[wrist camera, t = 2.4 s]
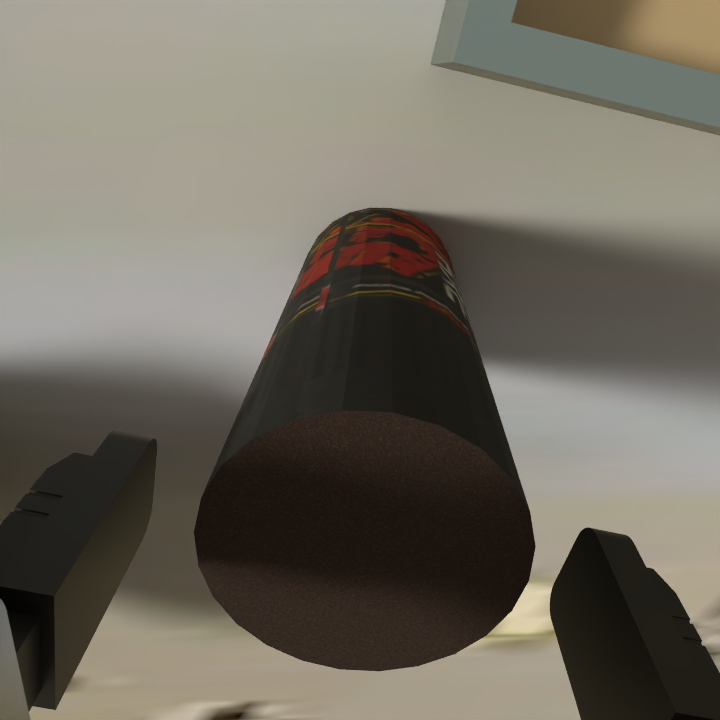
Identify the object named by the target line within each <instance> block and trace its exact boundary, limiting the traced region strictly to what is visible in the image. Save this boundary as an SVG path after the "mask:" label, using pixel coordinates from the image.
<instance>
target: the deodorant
mask: <svg viewBox="0 0 720 720" xmlns="http://www.w3.org/2000/svg"><path fill="white" fill-rule="evenodd" d="M194 536H195V543H196V550H197V558H198V565H199V568H200V570H201V572H202V574H203V576H204V578H205V580H206V582H207V585H208V587H209V589H210V591H211V593H212V595H213V597H214V598H215V599H216V600H217V602H218V603H219V604H220V605H221V606H222V607H223V608H224V610H225V611H226V612H227V613H228V614H229V615H230V617H231V618H232V619H233V620H234V621H235V622H236V623H237V624H238V625H239V626H241V627H242V628H244V629H245V630H246V631H248V632H249V633H251V634H252V635H253V636H255V637H256V638H258V639H259V640H260V641H262V642H263V643H265V644H266V645H268V646H270V647H273V648H275V649H277V650H279V651H282V652H284V653H286V654H288V655H291V656H293V657H295V658H298V659H300V660H302V661H307V662H311V663H315V664H320V665H324V666H328V667H333V668H337V669H346V670H366V671H384V670H392V669H399V668H407V667H414V666H420V665H423V664H426V663H429V662H432V661H435V660H438V659H441V658H444V657H447V656H450V655H453V654H455V653H457V652H459V651H461V650H462V649H464V648H466V647H467V646H469V645H471V644H473V643H474V642H476V641H478V640H479V639H481V638H483V637H485V636H486V635H487V634H488V633H489V632H490V631H491V630H493V629H494V628H495V627H496V626H497V625H498V624H499V623H500V622H501V621H502V620H503V619H504V618H505V617H506V616H507V615H508V614H509V613H510V612H511V611H512V610H513V608H514V606H515V604H516V602H517V601H518V599H519V597H520V595H521V594H522V592H523V590H524V588H525V586H526V585H527V583H528V581H529V577H530V572H531V567H532V562H533V557H534V552H535V541H534V534H533V528H532V522H531V515H530V510H529V507H528V504H527V501H526V498H525V495H524V491H523V488H522V485H521V482H520V479H519V476H518V473H517V469H516V466H515V463H514V460H513V457H512V454H511V451H510V447H509V444H508V441H507V438H506V435H505V432H504V428H503V425H502V422H501V419H500V416H499V413H498V410H497V406H496V403H495V400H494V397H493V394H492V391H491V388H490V384H489V381H488V378H487V375H486V372H485V369H484V365H483V362H482V359H481V356H480V353H479V350H478V347H477V343H476V340H475V337H474V334H473V331H472V328H471V325H470V321H469V318H468V315H467V312H466V309H465V306H464V302H463V299H462V296H461V293H460V290H459V287H458V284H457V280H456V277H455V274H454V271H453V268H452V265H451V261H450V258H449V256H448V254H447V252H446V250H445V248H444V246H443V244H442V242H441V240H440V239H439V237H438V236H437V235H436V234H435V233H434V232H433V231H432V230H431V229H430V228H429V227H428V225H426V224H425V223H423V222H422V221H420V220H418V219H417V218H415V217H414V216H412V215H410V214H408V213H404V212H401V211H398V210H394V209H391V208H367V209H363V210H359V211H355V212H351V213H348V214H347V215H345V216H343V217H341V218H339V219H338V220H336V221H334V222H332V223H331V224H330V225H329V226H328V227H327V228H326V229H325V230H324V231H323V232H322V233H321V234H320V235H319V236H318V237H317V239H316V241H315V243H314V244H313V246H312V248H311V250H310V251H309V253H308V255H307V258H306V260H305V262H304V264H303V267H302V269H301V271H300V274H299V276H298V278H297V280H296V283H295V285H294V287H293V290H292V292H291V294H290V296H289V299H288V301H287V303H286V306H285V308H284V310H283V312H282V315H281V317H280V319H279V322H278V324H277V326H276V328H275V331H274V333H273V335H272V338H271V340H270V342H269V344H268V347H267V349H266V351H265V354H264V356H263V358H262V360H261V363H260V365H259V367H258V370H257V372H256V374H255V376H254V379H253V381H252V383H251V386H250V388H249V390H248V392H247V395H246V397H245V399H244V402H243V404H242V406H241V408H240V411H239V413H238V415H237V418H236V420H235V422H234V424H233V427H232V429H231V431H230V434H229V436H228V438H227V440H226V443H225V445H224V447H223V450H222V452H221V454H220V456H219V459H218V461H217V463H216V466H215V468H214V470H213V472H212V475H211V477H210V479H209V482H208V484H207V486H206V488H205V491H204V493H203V495H202V498H201V502H200V506H199V511H198V516H197V520H196V525H195V530H194Z"/></svg>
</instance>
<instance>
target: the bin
mask: <svg viewBox="0 0 720 720" xmlns="http://www.w3.org/2000/svg"><path fill="white" fill-rule="evenodd" d="M431 64H432V65H436V66H440V67H444V68H448V69H452V70H456V71H460V72H464V73H468V74H472V75H476V76H481V77H485V78H489V79H493V80H497V81H501V82H505V83H509V84H513V85H517V86H521V87H525V88H529V89H533V90H538V91H542V92H546V93H550V94H554V95H558V96H562V97H566V98H570V99H574V100H578V101H582V102H586V103H590V104H595V105H599V106H603V107H607V108H611V109H615V110H619V111H623V112H627V113H631V114H635V115H639V116H643V117H648V118H652V119H656V120H660V121H664V122H668V123H672V124H676V125H680V126H684V127H688V128H692V129H696V130H700V131H705V132H709V133H713V134H717V135H720V0H446V3H445V7H444V12H443V16H442V20H441V24H440V28H439V32H438V36H437V40H436V44H435V49H434V53H433V57H432V61H431Z"/></svg>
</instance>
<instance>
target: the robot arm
mask: <svg viewBox="0 0 720 720" xmlns="http://www.w3.org/2000/svg"><path fill="white" fill-rule="evenodd" d="M156 453H157V442H156V440H155V439H152V438H147V437H142V436H137V435H132V434H127V433H123V432H118V431H112V432H111V433H110V434H109V435H108V436H107V437H106V439H105V440H104V442H103V443H102V444H101V446H100V447H99V448H98V450H97V451H96V452H95V454H94V455H93V456H89V455H84V454H79V453H73V454H71V455H70V456H68V457H66V458H65V459H63V460H61V461H59V462H58V463H56V464H54V465H52V466H51V467H49V468H47V470H46V471H45V472H44V473H43V474H42V476H41V477H40V478H39V479H38V480H37V482H36V483H35V484H34V485H33V486H32V488H31V489H30V492H29V494H26V495H25V496H24V497H23V498H22V500H21V501H20V502H19V503H18V504H17V506H16V507H15V510H14V512H11V513H10V514H9V515H8V516H7V518H6V519H5V520H4V521H3V522H2V524H1V525H0V720H30V716H29V711H30V709H31V707H32V706H36V707H41V708H47V709H53V710H56V708H57V706H58V704H59V702H60V700H61V698H62V696H63V694H64V692H65V690H66V688H67V686H68V684H69V682H70V680H71V679H72V677H73V675H74V673H75V671H76V669H77V667H78V665H79V663H80V661H81V659H82V657H83V655H84V653H85V651H86V649H87V647H88V645H89V643H90V641H91V639H92V637H93V635H94V633H95V631H96V629H97V627H98V625H99V624H100V622H101V620H102V618H103V616H104V614H105V612H106V610H107V608H108V606H109V604H110V602H111V600H112V598H113V596H114V594H115V592H116V590H117V588H118V586H119V584H120V582H121V580H122V578H123V576H124V574H125V572H126V570H127V569H128V567H129V565H130V563H131V561H132V559H133V557H134V555H135V553H136V551H137V549H138V547H139V545H140V543H141V541H142V539H143V537H144V534H145V531H146V529H147V526H148V522H149V519H150V514H151V509H152V502H153V490H154V478H155V466H156ZM550 615H551V620H552V623H553V627H554V630H555V633H556V637H557V640H558V643H559V647H560V650H561V653H562V657H563V660H564V664H565V667H566V670H567V674H568V677H569V680H570V684H571V687H572V690H573V694H574V697H575V700H576V704H577V707H578V710H579V714H580V717H581V720H720V673H719V671H718V669H717V667H716V665H715V664H714V662H713V660H712V658H711V656H710V655H709V653H708V651H707V649H706V647H705V646H702V645H701V641H702V640H701V638H700V636H699V634H698V633H697V631H696V629H695V627H694V625H693V624H690V622H689V621H690V618H689V616H688V614H687V613H686V611H685V609H684V607H683V605H682V603H681V602H680V600H679V598H678V596H677V594H676V593H675V592H674V591H673V590H672V589H671V587H670V586H669V585H668V584H667V583H666V582H665V581H664V580H663V579H662V578H661V577H660V576H659V575H658V574H657V573H656V571H655V570H654V569H651V568H646V566H645V564H644V562H643V560H642V558H641V556H640V554H639V552H638V550H637V548H636V547H635V545H634V543H633V541H632V539H631V538H630V537H628V536H627V535H623V534H618V533H613V532H608V531H603V530H598V529H593V528H585V529H583V530H582V531H581V532H580V533H579V535H578V537H577V539H576V541H575V543H574V545H573V547H572V549H571V551H570V553H569V555H568V557H567V559H566V561H565V563H564V565H563V567H562V569H561V571H560V573H559V575H558V577H557V579H556V581H555V583H554V585H553V588H552V592H551V597H550Z"/></svg>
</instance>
